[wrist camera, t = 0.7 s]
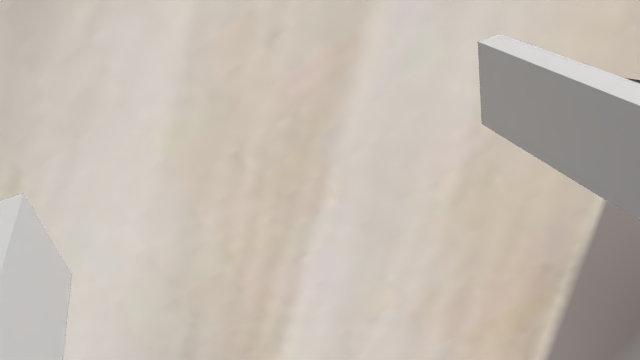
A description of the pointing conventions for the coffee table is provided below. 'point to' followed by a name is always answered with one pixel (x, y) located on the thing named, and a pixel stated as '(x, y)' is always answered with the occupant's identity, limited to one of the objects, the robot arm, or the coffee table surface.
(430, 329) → the coffee table surface
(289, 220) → the coffee table surface
